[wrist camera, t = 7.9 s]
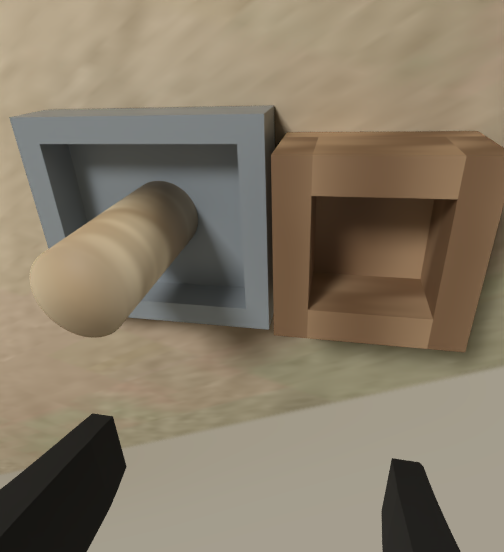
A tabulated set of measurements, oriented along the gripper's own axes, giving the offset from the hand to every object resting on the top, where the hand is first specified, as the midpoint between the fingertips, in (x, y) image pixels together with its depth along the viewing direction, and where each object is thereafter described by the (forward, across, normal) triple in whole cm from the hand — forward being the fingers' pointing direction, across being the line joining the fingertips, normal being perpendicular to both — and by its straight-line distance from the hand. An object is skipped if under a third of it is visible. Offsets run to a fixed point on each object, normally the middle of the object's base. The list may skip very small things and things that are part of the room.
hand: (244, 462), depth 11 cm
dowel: (+10, +6, -3) cm, 12 cm away
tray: (+10, +6, -3) cm, 12 cm away
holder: (+10, -3, -3) cm, 11 cm away
